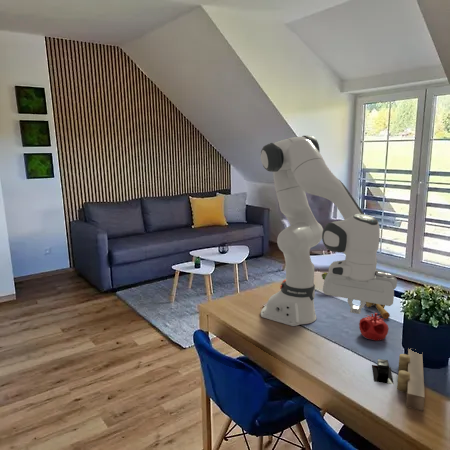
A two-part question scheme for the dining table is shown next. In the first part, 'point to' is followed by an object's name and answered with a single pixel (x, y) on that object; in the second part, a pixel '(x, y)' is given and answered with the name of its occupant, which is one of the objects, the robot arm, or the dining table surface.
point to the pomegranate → (373, 327)
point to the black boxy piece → (382, 372)
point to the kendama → (379, 309)
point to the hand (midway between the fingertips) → (355, 312)
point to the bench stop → (412, 379)
